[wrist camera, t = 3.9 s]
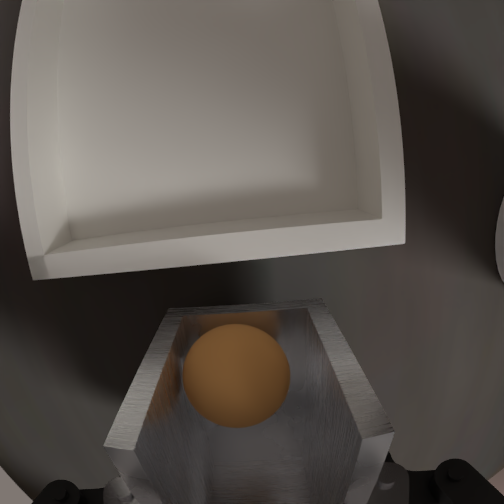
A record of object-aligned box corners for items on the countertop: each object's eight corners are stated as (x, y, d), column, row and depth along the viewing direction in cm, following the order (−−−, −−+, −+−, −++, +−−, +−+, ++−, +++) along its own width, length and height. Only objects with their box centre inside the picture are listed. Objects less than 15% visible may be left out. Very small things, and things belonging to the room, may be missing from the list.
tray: (368, 224, 12) (405, 243, 9) (71, 255, 12) (32, 280, 9) (318, -80, 8) (331, -116, 5) (69, -42, 8) (43, -69, 5)
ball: (324, 404, 7) (299, 331, 10) (225, 362, 6) (222, 285, 9) (250, 454, 8) (242, 383, 11) (158, 425, 7) (168, 349, 10)
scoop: (312, 452, 12) (336, 561, 6) (203, 459, 12) (192, 569, 6) (321, 297, 10) (395, 431, 4) (168, 308, 10) (103, 446, 4)
